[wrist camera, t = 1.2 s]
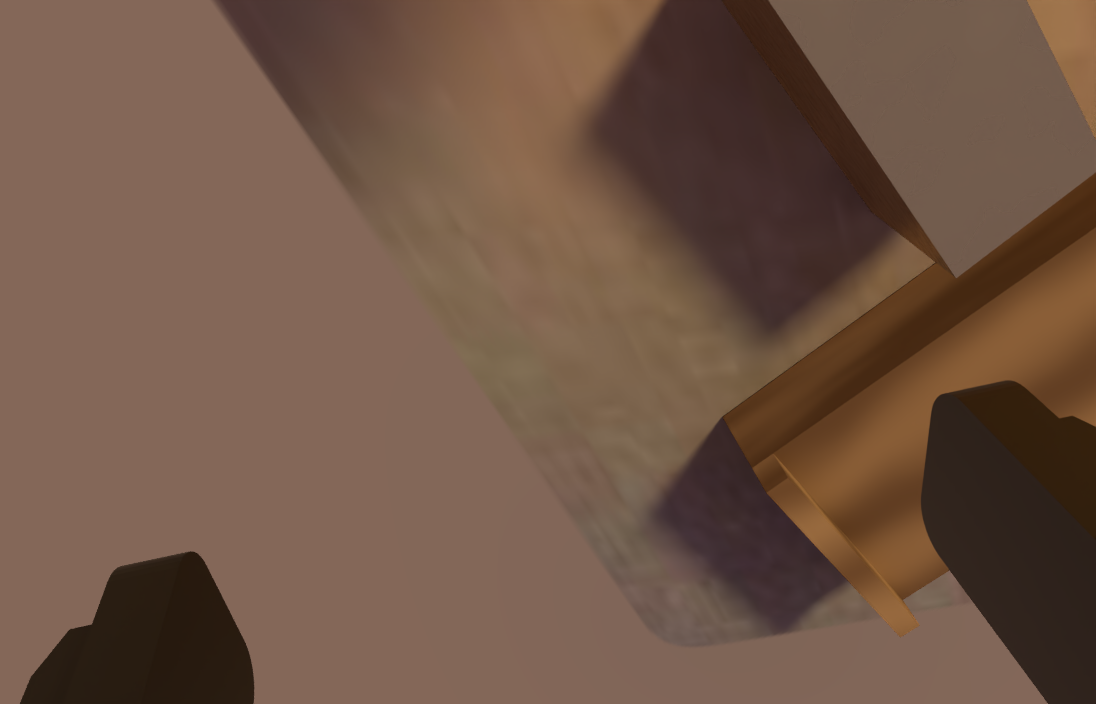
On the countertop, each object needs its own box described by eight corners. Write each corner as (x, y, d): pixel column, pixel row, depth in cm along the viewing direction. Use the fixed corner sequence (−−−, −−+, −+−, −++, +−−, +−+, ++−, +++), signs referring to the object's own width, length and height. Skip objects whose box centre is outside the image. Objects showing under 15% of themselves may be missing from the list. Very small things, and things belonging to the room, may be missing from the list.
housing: (831, -177, 26) (939, -177, 21) (992, 110, 32) (1107, 163, 27) (689, -43, 28) (758, -14, 23) (868, 209, 33) (956, 278, 28)
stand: (722, 416, 37) (766, 492, 33) (1202, 70, 32) (1326, 106, 28) (849, 557, 43) (900, 637, 39) (1271, 281, 38) (1382, 337, 34)
